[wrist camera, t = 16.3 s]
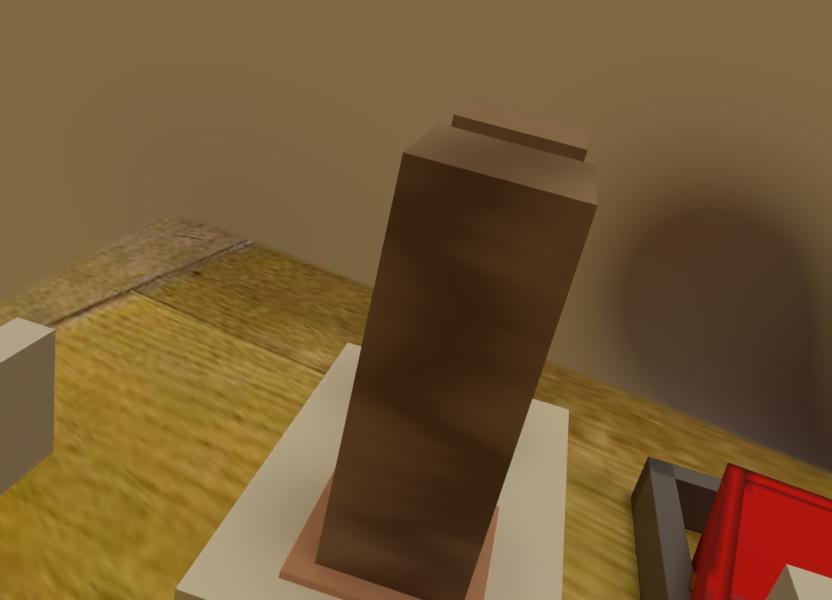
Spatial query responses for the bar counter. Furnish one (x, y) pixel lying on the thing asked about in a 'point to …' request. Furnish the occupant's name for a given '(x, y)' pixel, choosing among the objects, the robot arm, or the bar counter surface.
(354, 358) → the base board
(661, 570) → the charcoal tray rim
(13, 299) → the bar counter surface
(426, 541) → the walnut pillar
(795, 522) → the french fries container
